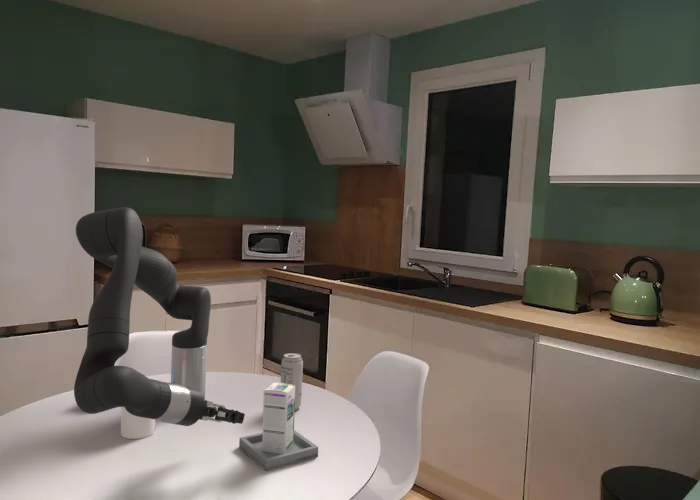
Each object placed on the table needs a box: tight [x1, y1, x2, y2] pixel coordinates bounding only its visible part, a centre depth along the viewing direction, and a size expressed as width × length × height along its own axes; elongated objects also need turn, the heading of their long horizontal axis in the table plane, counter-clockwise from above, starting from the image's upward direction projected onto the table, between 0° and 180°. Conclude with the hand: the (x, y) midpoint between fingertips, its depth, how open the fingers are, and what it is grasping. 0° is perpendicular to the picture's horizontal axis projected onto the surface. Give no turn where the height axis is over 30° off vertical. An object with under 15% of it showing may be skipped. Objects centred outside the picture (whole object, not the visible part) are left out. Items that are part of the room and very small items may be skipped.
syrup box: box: [262, 381, 296, 455], centre depth 119 cm, size 6×6×14 cm
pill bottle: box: [120, 407, 157, 440], centre depth 126 cm, size 8×8×11 cm
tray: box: [238, 429, 319, 472], centre depth 120 cm, size 13×13×2 cm
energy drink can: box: [280, 352, 304, 411], centre depth 147 cm, size 6×6×15 cm
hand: (228, 415), depth 117 cm, fingers open, 8 cm apart
